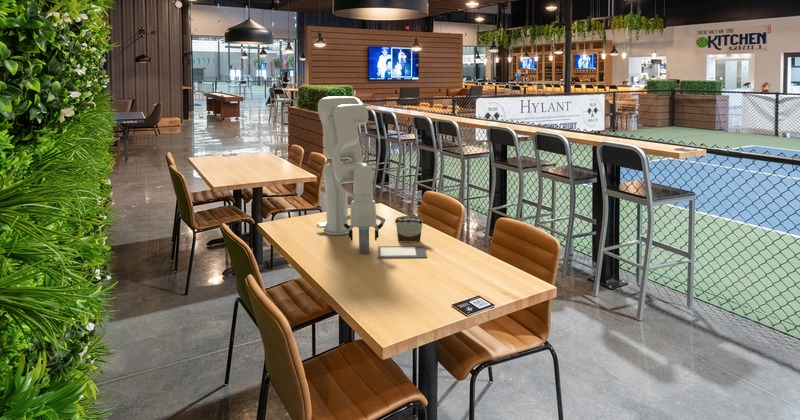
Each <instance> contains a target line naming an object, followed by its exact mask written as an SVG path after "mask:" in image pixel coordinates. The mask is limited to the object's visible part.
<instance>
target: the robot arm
mask: <svg viewBox="0 0 800 420" xmlns="http://www.w3.org/2000/svg"><path fill="white" fill-rule="evenodd" d="M317 112H318V117H319V120H320V122H321V126H322V129H323V145H324V146H323V147H324V154H325V156H326V157H327V159H329V160H331V161H332V162H328V163H326V164H325V165H324V166H323V168H322V175H323V181H324V187H325V188H324V189H325V209H326V211H325V214H326V215H325V217H326V221H325V222H317V223H316V228H319V229H323V231H322V232H323V233H324V234H326V235H329V236H342V235H343V236H344V235H347V234H348V239H350V241H353V239H354V238H353V235H354V234H353V231H354V230H353V228H359V227H369V228H374V241H377V240H378V239H379V231H380V229H382V227H383V226H384V225H385V223H386V218H385V217H382V216H380V215H378V214H377V206H376V202H375V200H374V194H373V189H374V188H373V187H374V185H373V184H374V183H373V180H374V179H373V177H374V176H373V175H374V174H373V168H372V167H371V166H369V165H368V163H367V162H363V161H362V160H363V159H362V157H363V156H362V149H361V148H362V146H361V143H360V134H359V129H358V126H357V125H362V126H363V125H366V124H367V123H368V120H369V111H368V109H367V106H366V105H365V104H364V102H363V101H361V100H360V99H359V98H358V97H356V96H325V97H323V98H321V99H319V101H318V103H317ZM341 159H343V160H344V159H349V161H341ZM351 183H353V184H352V186H353V193H352V194H349V199H352V201H351V203H350V214H349V212H348V211H349V210H348V192H347V190H346V189H345V188H344V187H343V185H342V184H351ZM348 214H349V215H348ZM349 220H350V224H349ZM377 220H378V221H380V223H379V224H377Z"/></svg>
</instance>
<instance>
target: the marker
mask: <svg viewBox="0 0 800 420" xmlns="http://www.w3.org/2000/svg"><path fill="white" fill-rule="evenodd" d="M358 244H359V247H358V253H359V254H360V255H369V254H370V227H358Z"/></svg>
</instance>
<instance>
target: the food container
mask: <svg viewBox="0 0 800 420" xmlns="http://www.w3.org/2000/svg"><path fill="white" fill-rule="evenodd" d="M394 224H395V226H396V235H397V241H398V243H401V242H402V243H403V242H404V243H406V242H407V243H420V242H421V237H422V228H423V225H424V219H423V217H420V216H416V215H402V216H399V217H396V218H395V221H394Z"/></svg>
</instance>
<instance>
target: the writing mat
mask: <svg viewBox="0 0 800 420" xmlns="http://www.w3.org/2000/svg"><path fill="white" fill-rule="evenodd" d="M427 258H428V256H427V251H426V248H425V245H391V246H390V245H384V246H383V245H380V246H379V245H378V247H377V259H427Z"/></svg>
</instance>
